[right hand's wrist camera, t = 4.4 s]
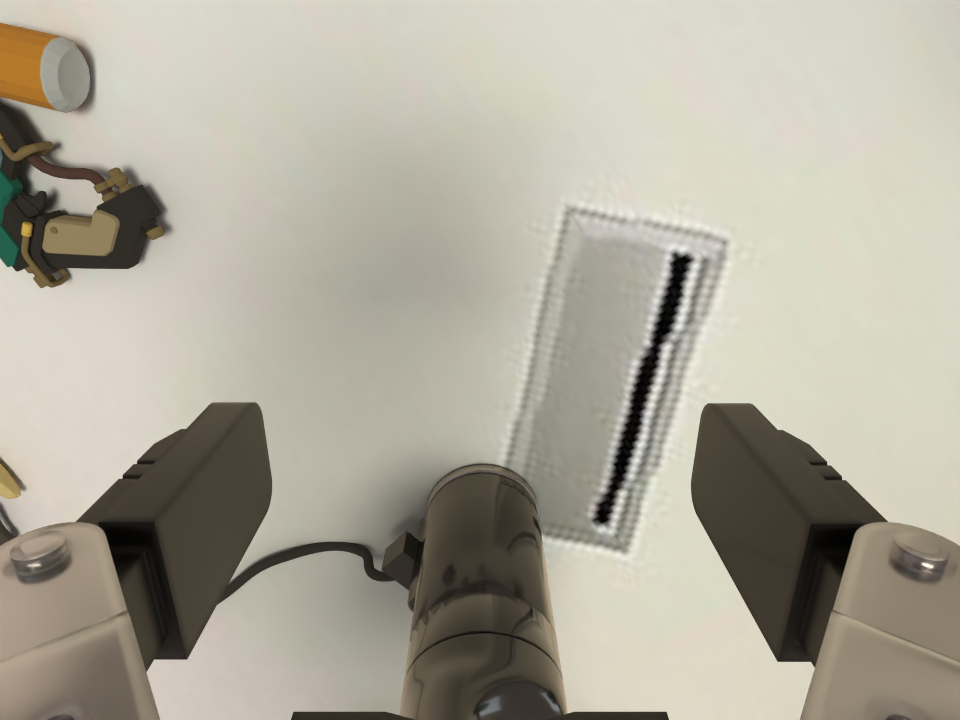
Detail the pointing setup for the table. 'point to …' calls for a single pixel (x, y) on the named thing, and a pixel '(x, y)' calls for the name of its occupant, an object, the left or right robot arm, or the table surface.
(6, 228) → the spray gun
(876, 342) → the table surface
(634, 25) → the table surface
